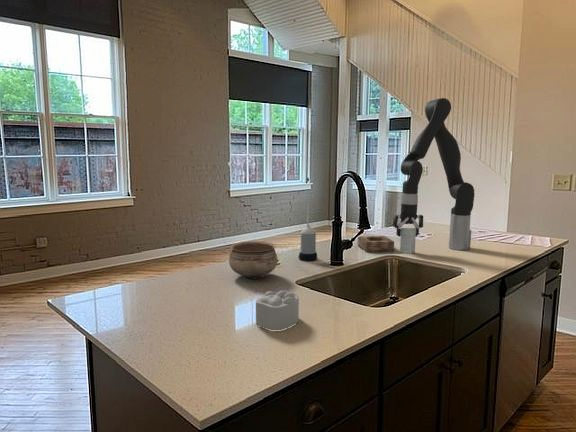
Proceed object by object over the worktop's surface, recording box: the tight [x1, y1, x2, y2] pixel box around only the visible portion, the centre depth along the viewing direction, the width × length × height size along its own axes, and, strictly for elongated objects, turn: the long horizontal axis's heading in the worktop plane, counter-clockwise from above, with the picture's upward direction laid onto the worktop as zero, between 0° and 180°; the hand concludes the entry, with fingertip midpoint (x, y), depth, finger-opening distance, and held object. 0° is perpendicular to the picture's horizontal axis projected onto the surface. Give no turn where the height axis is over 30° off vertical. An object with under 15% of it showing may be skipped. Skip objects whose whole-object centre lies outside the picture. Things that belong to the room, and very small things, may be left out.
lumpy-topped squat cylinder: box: [255, 290, 300, 330], centre depth 129 cm, size 10×13×9 cm
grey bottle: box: [297, 204, 318, 262], centre depth 199 cm, size 8×8×25 cm
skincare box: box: [399, 226, 417, 255], centre depth 213 cm, size 6×4×12 cm
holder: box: [357, 235, 395, 253], centre depth 221 cm, size 14×14×5 cm
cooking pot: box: [228, 241, 279, 280], centre depth 173 cm, size 25×19×12 cm
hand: (407, 236), depth 213 cm, fingers open, 8 cm apart
